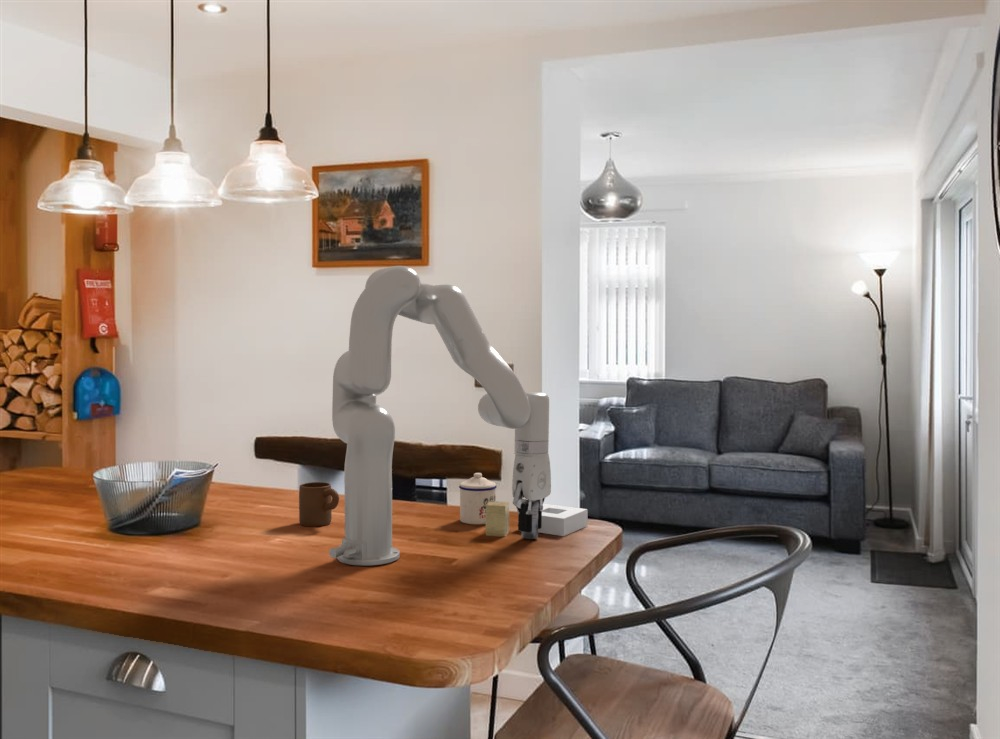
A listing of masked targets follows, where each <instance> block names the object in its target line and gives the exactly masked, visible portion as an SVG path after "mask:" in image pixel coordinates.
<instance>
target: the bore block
mask: <svg viewBox="0 0 1000 739" xmlns="http://www.w3.org/2000/svg"><path fill="white" fill-rule="evenodd" d="M540 511H541V510H540ZM588 513H589V511H588V509H587V508H582V507H572V506H566V505H565V506H564V505H558V504H557V505H556V504H549V503H543V510H542V527H541V528H540V529H538V534H539V533H541V534H546V535H554V536H561V537H565V536H568V535H570V534H572V533H574V532H577V531H579V530H581V529H584V528H586V527H588V516H589V515H588Z"/></svg>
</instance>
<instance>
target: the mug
mask: <svg viewBox="0 0 1000 739" xmlns="http://www.w3.org/2000/svg"><path fill="white" fill-rule="evenodd" d="M298 488H299V491H298V506H299V507H298V510H299V511H298V513H299V515H298V516H299V517H298V519H299V524H300V525H301V526H304V527H309V528H310V527H312V528H313V527H324V526H327V525H330V524H331V523H332V517H333V516H332V510H335V509H336V508H337V507H338V505H339V502H340V496H339V492H338V491H337V490H336V489H334V488H332V484H331V483H329V482H324V481H323V482H321V481H319V482H318V481H316V482H315V481H313V482H305V483H301V484H299V487H298Z"/></svg>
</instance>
